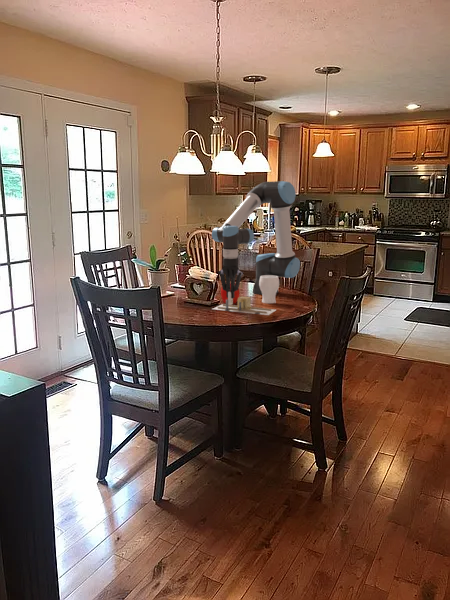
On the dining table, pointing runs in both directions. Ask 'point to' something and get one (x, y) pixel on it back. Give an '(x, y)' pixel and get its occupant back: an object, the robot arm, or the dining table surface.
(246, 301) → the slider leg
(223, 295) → the apple
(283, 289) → the dining table surface
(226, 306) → the board
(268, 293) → the cup
